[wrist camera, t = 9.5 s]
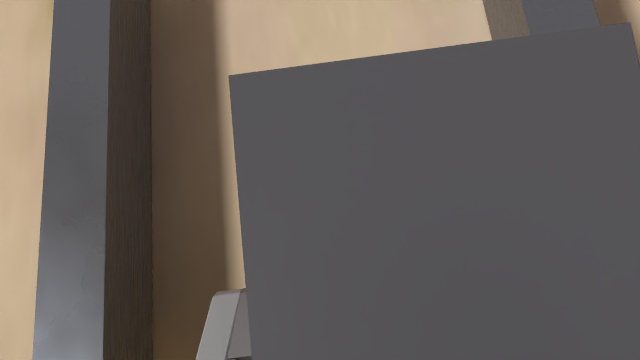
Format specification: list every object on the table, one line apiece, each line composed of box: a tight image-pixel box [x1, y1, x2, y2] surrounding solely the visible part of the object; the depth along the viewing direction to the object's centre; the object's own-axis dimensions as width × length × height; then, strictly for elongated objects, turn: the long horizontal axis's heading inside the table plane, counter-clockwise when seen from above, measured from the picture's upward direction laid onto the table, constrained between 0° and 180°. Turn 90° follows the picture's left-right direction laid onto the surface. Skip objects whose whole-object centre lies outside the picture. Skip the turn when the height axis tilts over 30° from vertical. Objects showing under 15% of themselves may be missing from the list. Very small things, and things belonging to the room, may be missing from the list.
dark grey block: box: [229, 22, 640, 360], centre depth 9 cm, size 5×7×10 cm
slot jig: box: [32, 0, 601, 360], centre depth 15 cm, size 20×17×3 cm
